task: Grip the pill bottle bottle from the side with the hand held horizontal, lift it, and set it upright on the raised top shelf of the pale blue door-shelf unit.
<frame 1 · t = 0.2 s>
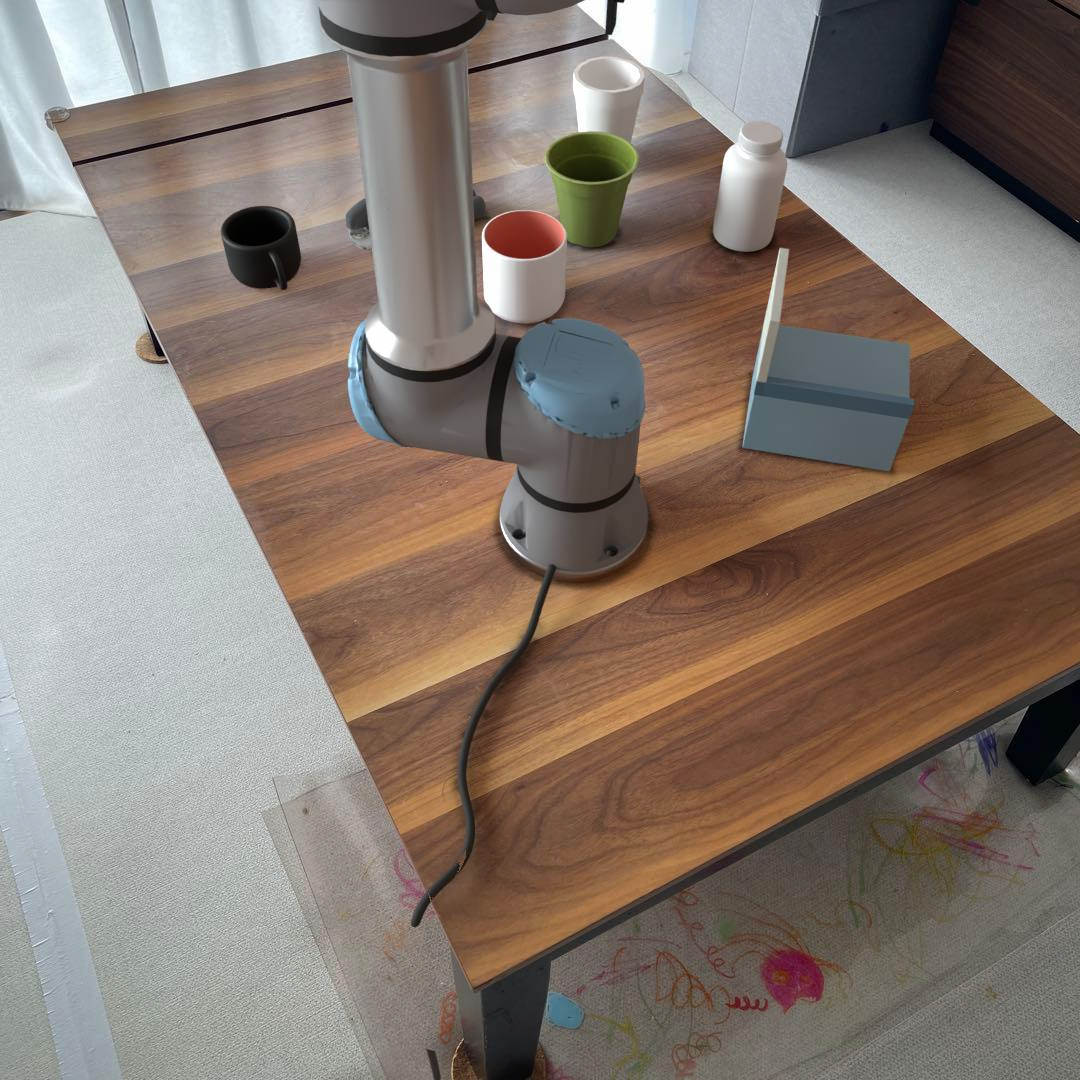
hand: (551, 22, 126), 28 cm above the table, tool pointing down, fingers open, 13 cm apart
mug: (272, 281, 141), on the table
plant pot: (588, 233, 148), on the table
foam cup: (603, 162, 158), on the table
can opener: (417, 233, 148), on the table
door shelf: (818, 422, 126), on the table
pill bottle: (741, 236, 148), on the table
cup: (524, 303, 139), on the table
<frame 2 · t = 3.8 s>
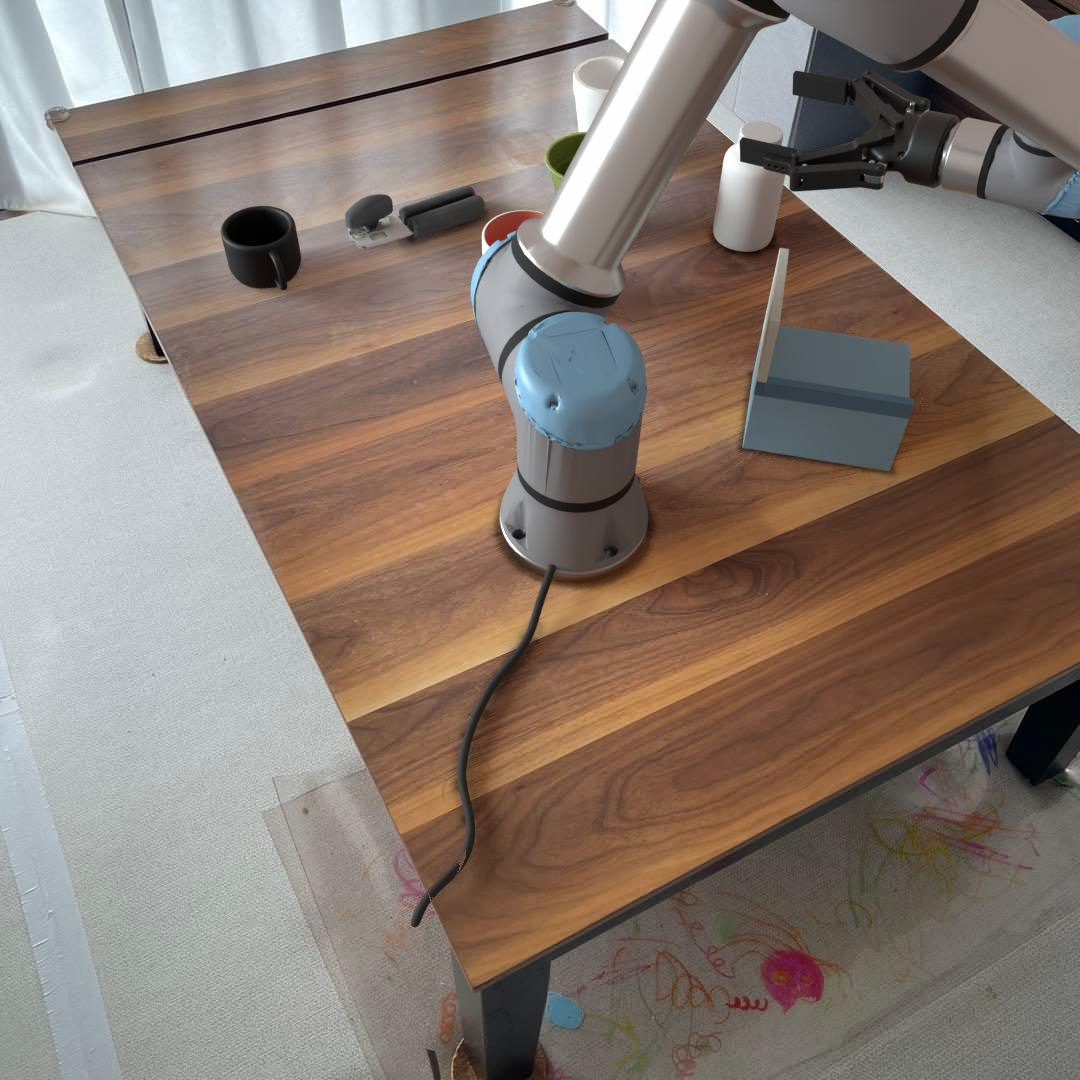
hand: (767, 115, 128), 20 cm above the table, tool horizontal, fingers open, 13 cm apart
nothing on the table moved.
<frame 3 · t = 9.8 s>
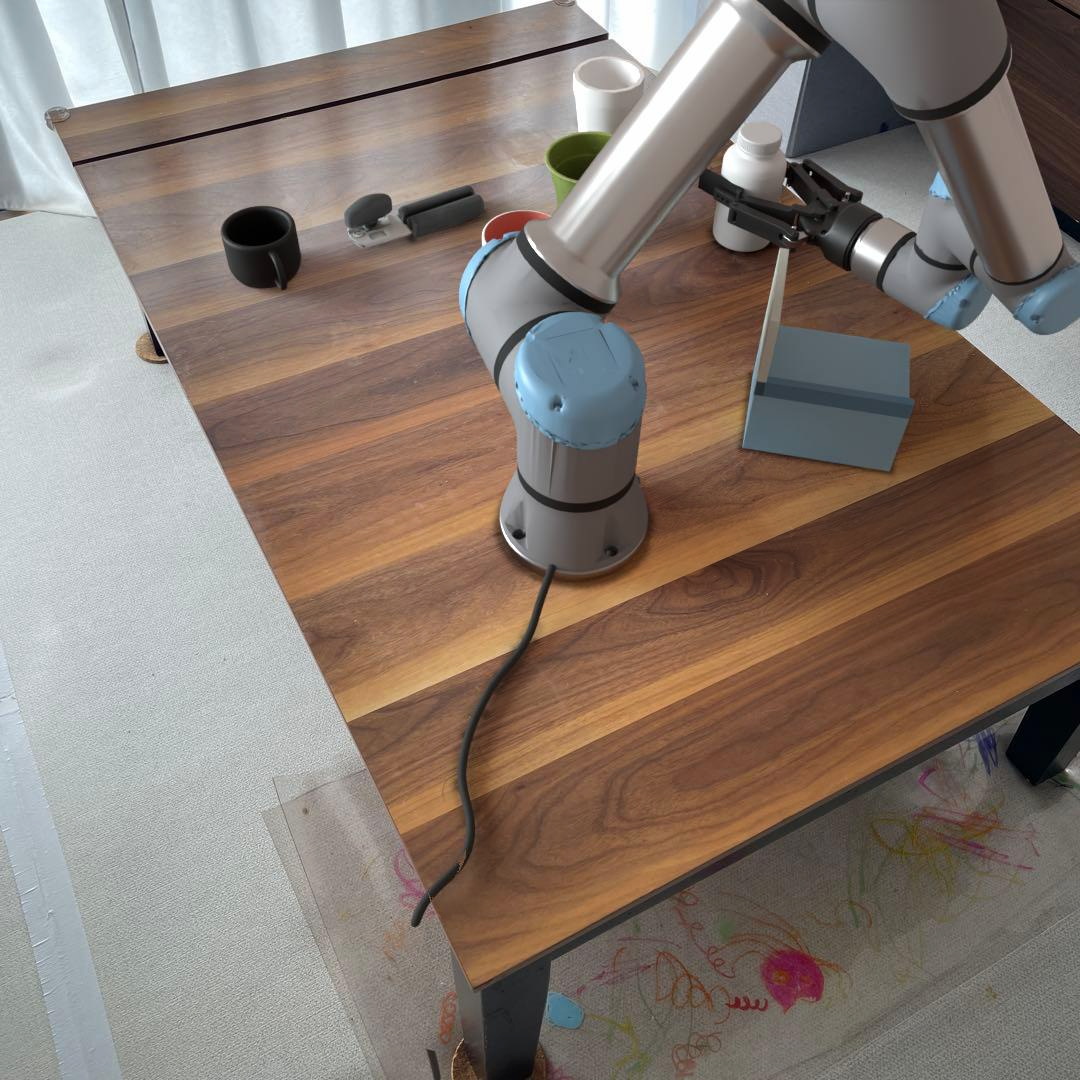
hand: (723, 164, 143), 8 cm above the table, tool horizontal, fingers closed on pill bottle, 8 cm apart
pill bottle: (741, 236, 148), on the table, touching gripper
everything else where it was.
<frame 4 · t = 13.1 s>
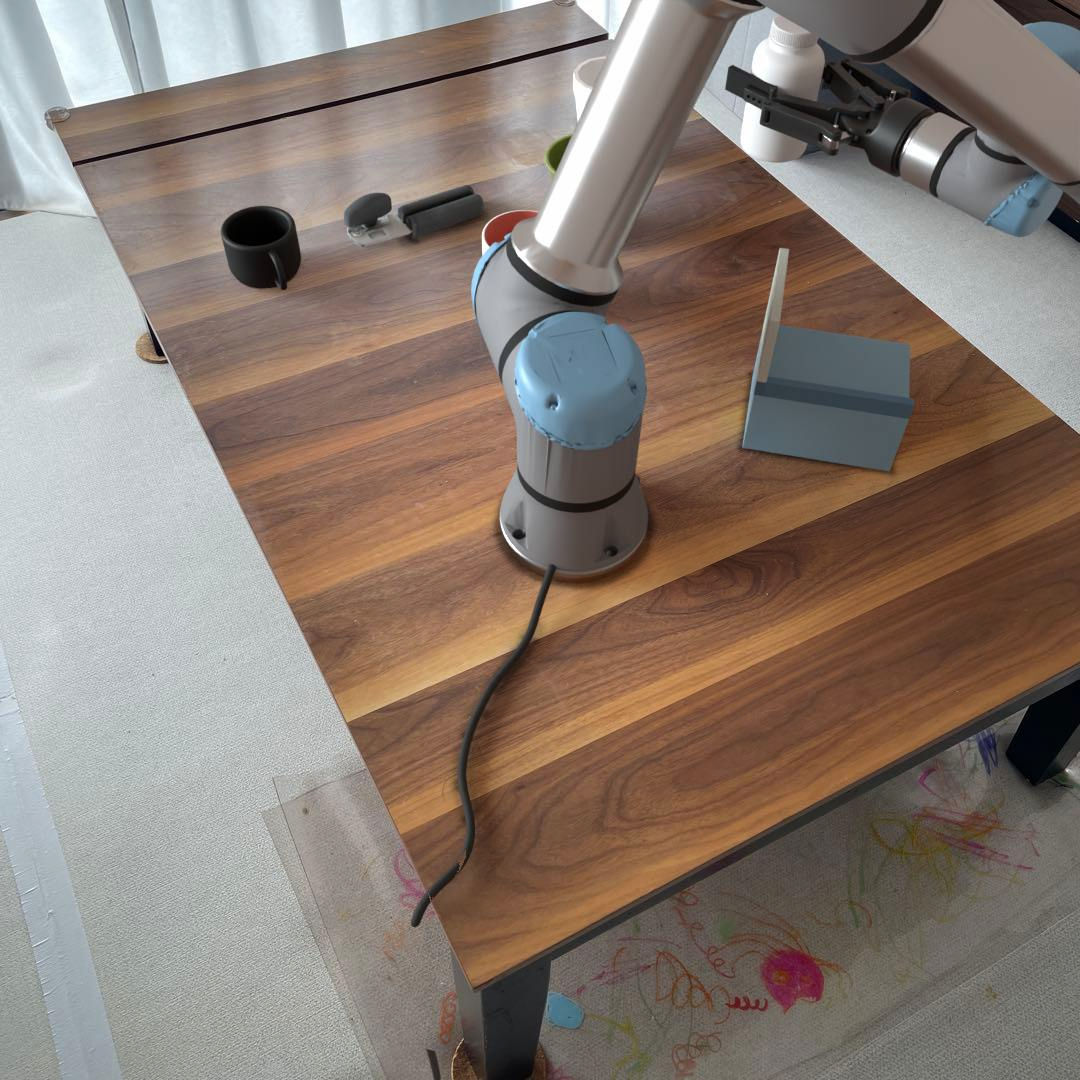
hand: (753, 64, 129), 24 cm above the table, tool horizontal, fingers closed on pill bottle, 8 cm apart
pill bottle: (772, 147, 133), point 15 cm above the table, touching gripper
everything else where it was.
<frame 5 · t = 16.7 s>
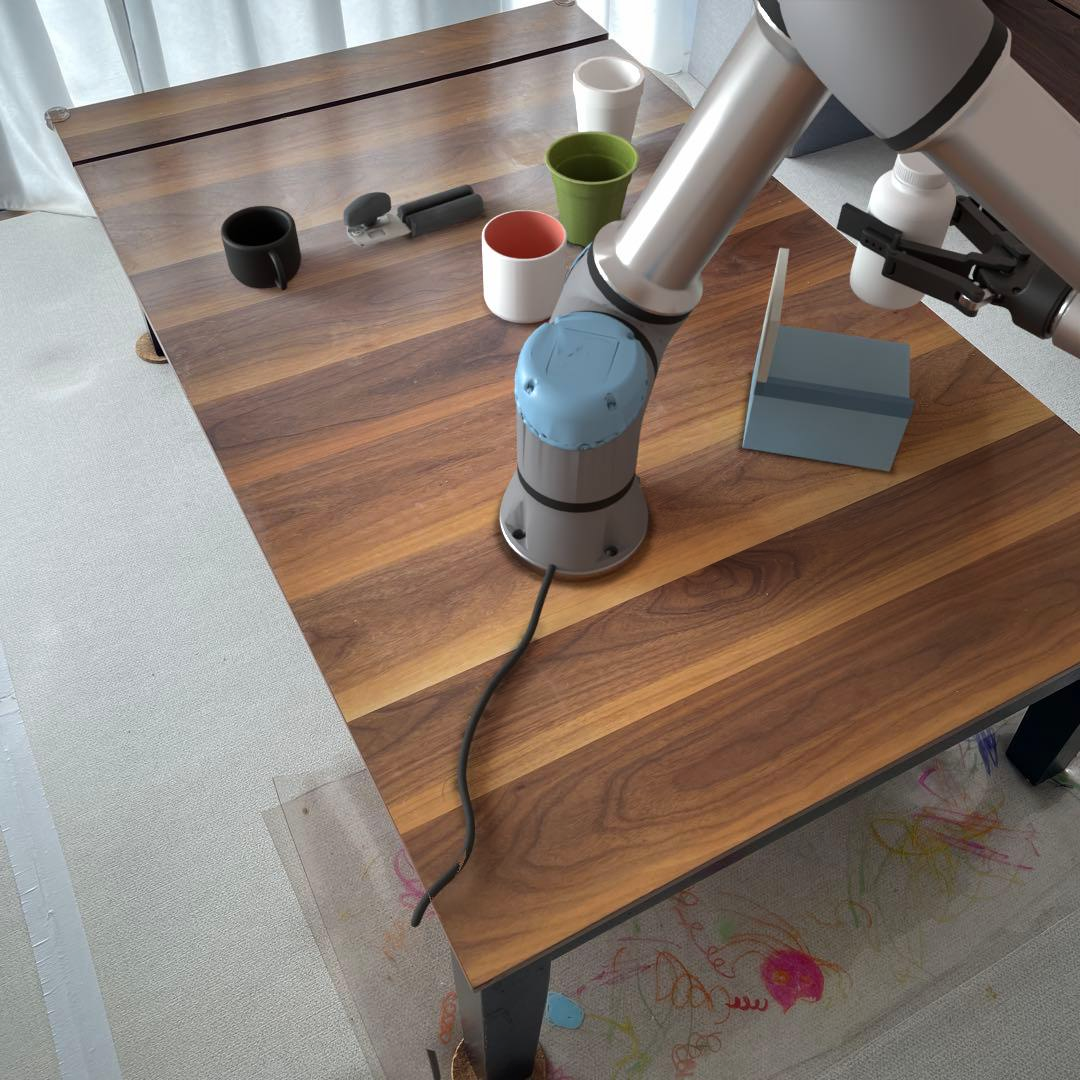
hand: (867, 198, 112), 24 cm above the table, tool horizontal, fingers closed on pill bottle, 8 cm apart
pill bottle: (886, 288, 116), point 16 cm above the table, touching gripper
everything else where it was.
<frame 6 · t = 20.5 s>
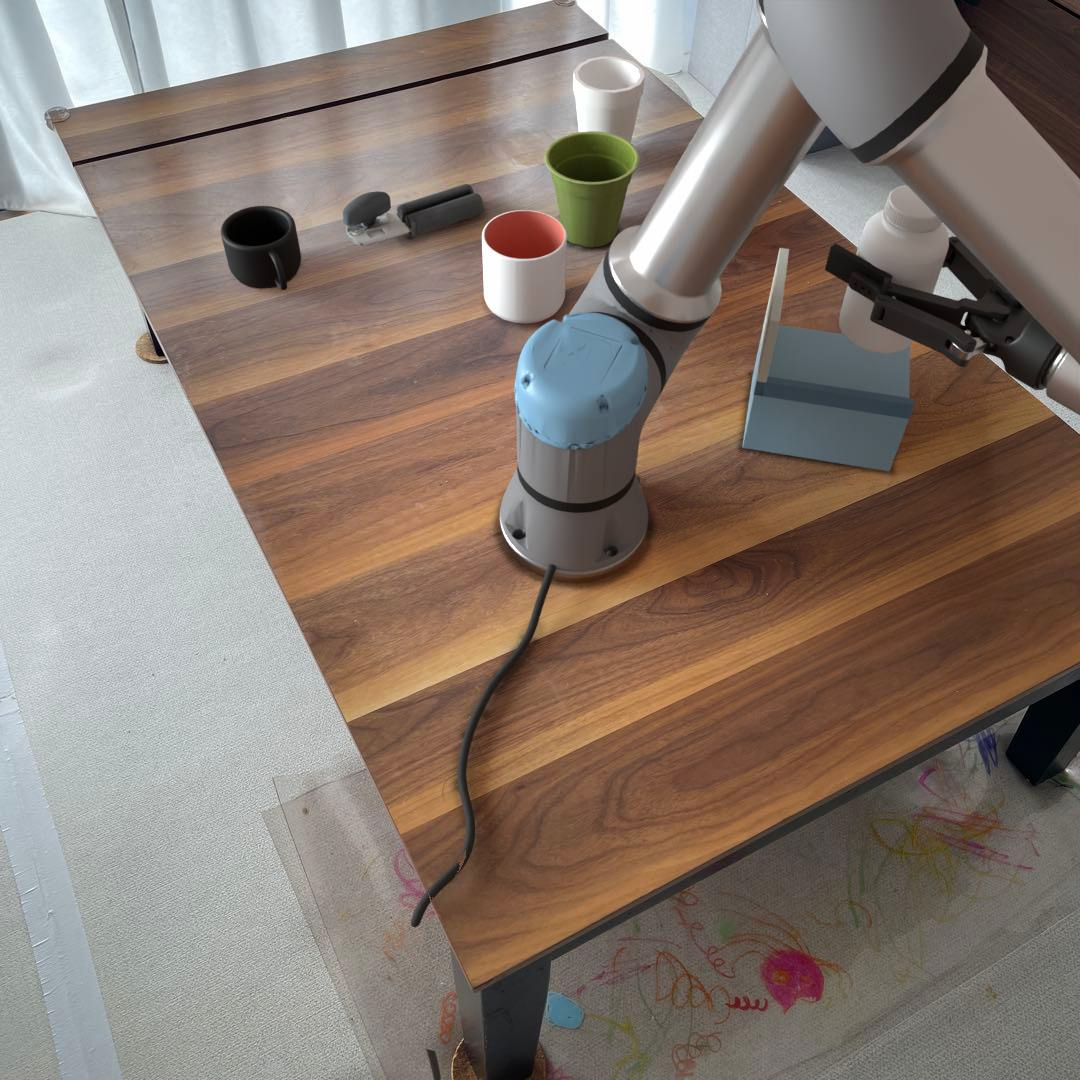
hand: (857, 238, 108), 24 cm above the table, tool horizontal, fingers closed on pill bottle, 8 cm apart
pill bottle: (876, 330, 112), point 15 cm above the table, touching gripper
everything else where it was.
when the fingers open (16 cm above the table, at t = 23.6 s): pill bottle stays where it is, resting on door shelf.
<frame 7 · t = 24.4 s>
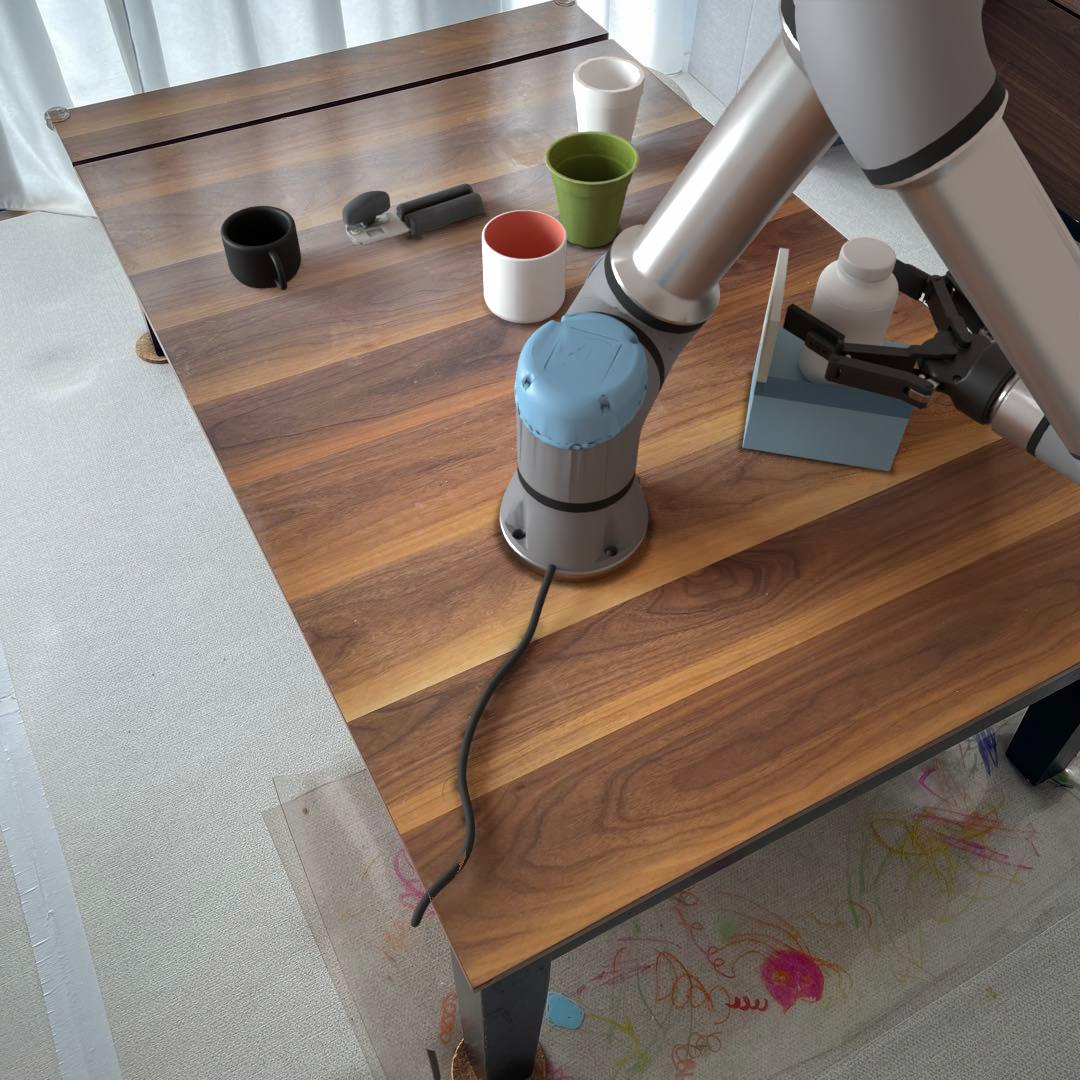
hand: (829, 286, 114), 17 cm above the table, tool horizontal, fingers open, 13 cm apart
pill bottle: (834, 370, 120), point 8 cm above the table, touching door shelf
everything else where it was.
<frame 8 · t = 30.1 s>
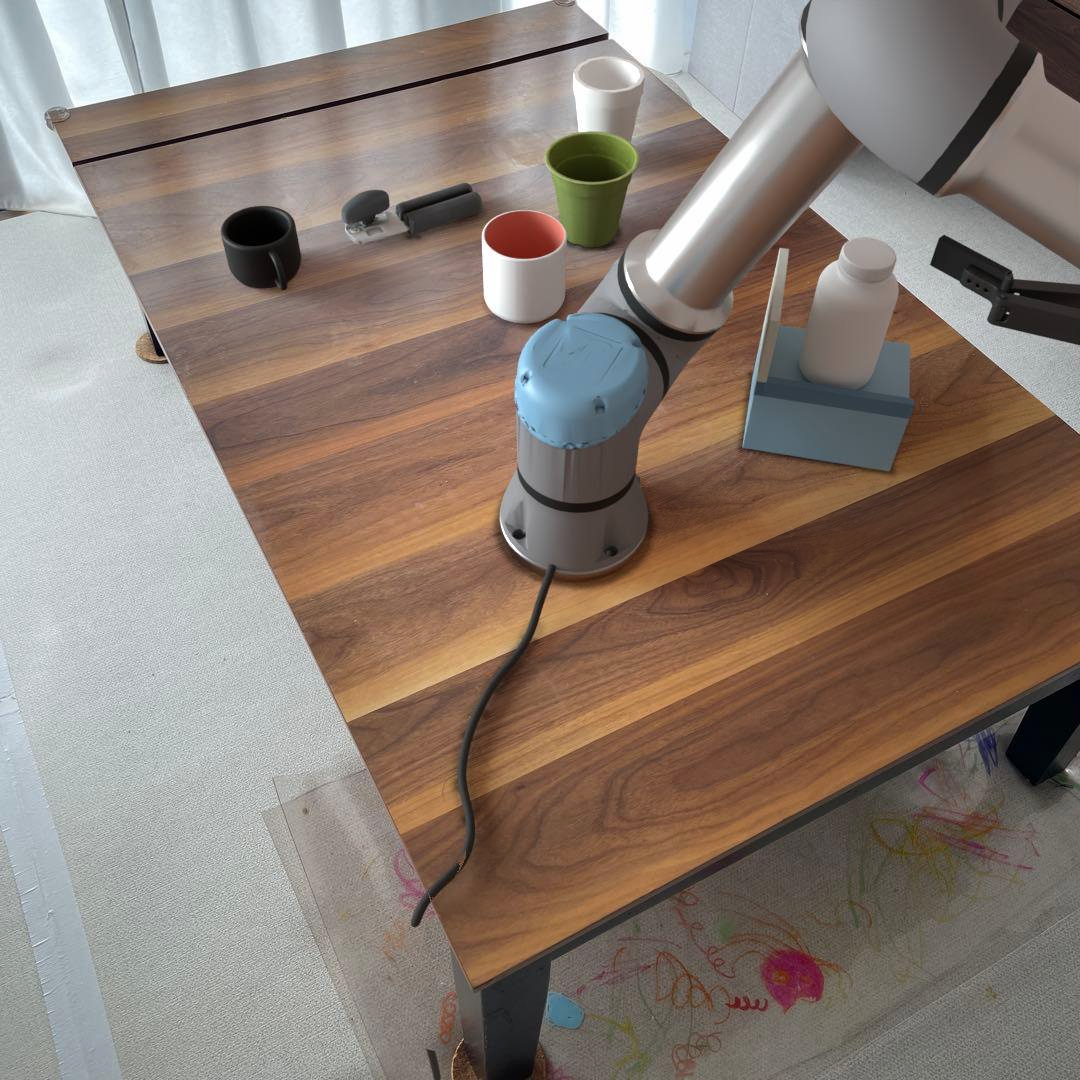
hand: (982, 217, 96), 32 cm above the table, tool horizontal, fingers open, 13 cm apart
at the end: pill bottle inside the target area on the door shelf (0.1 cm from its centre), point 7.8 cm above the door shelf's base; pill bottle tilted 0°; the gripper is holding nothing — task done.
